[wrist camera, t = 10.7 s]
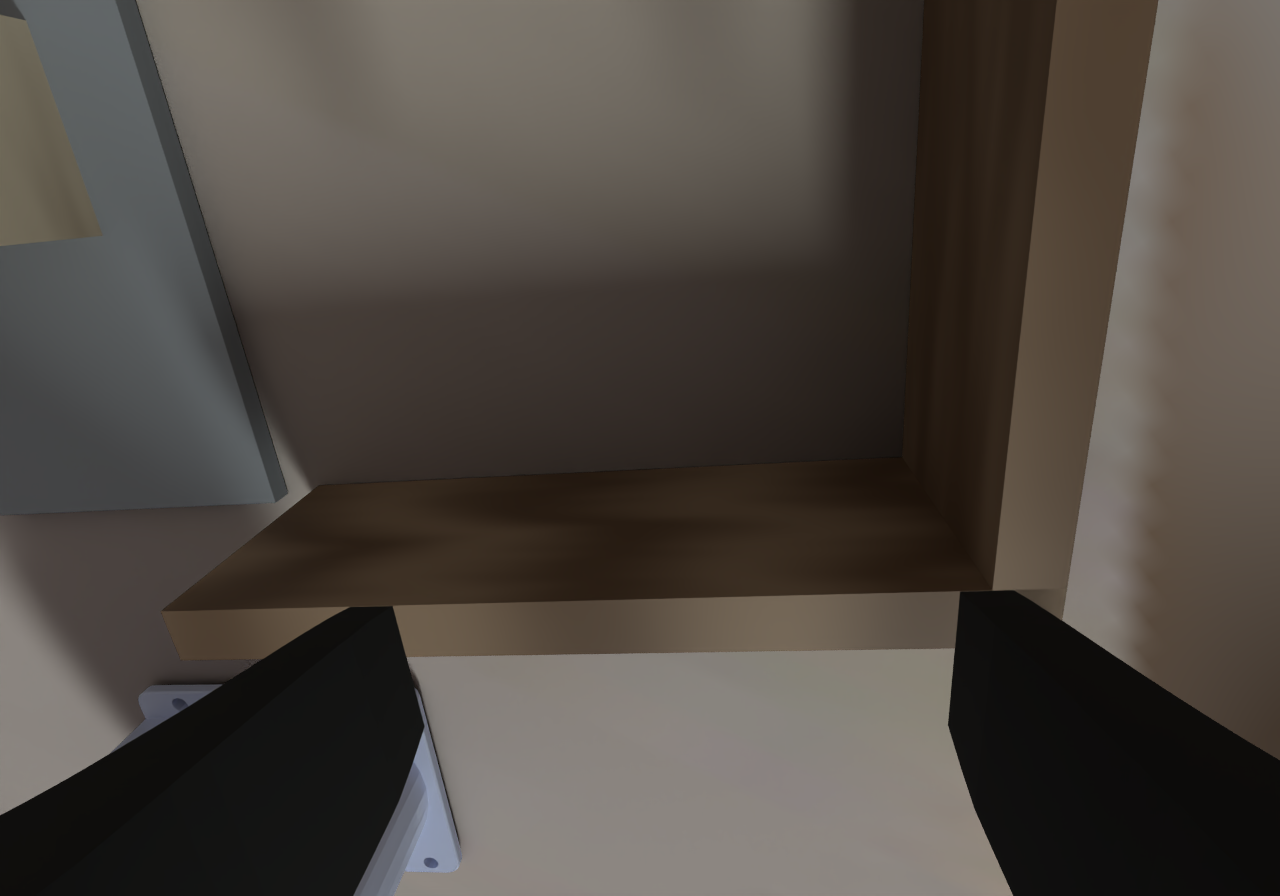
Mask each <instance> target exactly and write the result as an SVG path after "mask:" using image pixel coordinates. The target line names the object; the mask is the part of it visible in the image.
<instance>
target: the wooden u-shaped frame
mask: <svg viewBox="0 0 1280 896" xmlns="http://www.w3.org/2000/svg"><path fill="white" fill-rule="evenodd" d="M1157 5H1158V0H924V18H923V39H922V59H921V79H920V100H919V120H918V141H917V161H916V182H915V202H914V223H913V243H912V263H911V284H910V304H909V325H908V345H907V366H906V386H905V407H904V427H903V447H902V457H891V458H871V459H850V460H830V461H809V462H789V463H768V464H748V465H727V466H707V467H686V468H666V469H645V470H625V471H604V472H584V473H563V474H543V475H522V476H502V477H481V478H460V479H440V480H419V481H399V482H378V483H358V484H337V485H319V486H318V487H316V488H315V489H314V490H313V491H311V492H310V493H309V494H308V495H306V496H305V497H304V498H302V499H301V500H300V501H299V502H297V503H296V504H295V505H294V506H292V507H291V508H290V509H289V510H287V511H286V512H285V513H284V514H282V515H281V516H280V517H279V518H277V519H276V520H275V521H274V522H272V523H271V524H270V525H269V526H267V527H266V528H265V529H264V530H262V531H261V532H260V533H259V534H257V535H256V536H255V537H254V538H252V539H251V540H250V541H249V542H247V543H246V544H245V545H243V546H242V547H241V548H240V549H238V550H237V551H236V552H235V553H233V554H232V555H231V556H230V557H228V558H227V559H226V560H225V561H223V562H222V563H221V564H220V565H218V566H217V567H216V568H215V569H213V570H212V571H211V572H210V573H208V574H207V575H206V576H205V577H203V578H202V579H201V580H200V581H198V582H197V583H196V584H195V585H193V586H192V587H191V588H190V589H188V590H187V591H186V592H185V593H183V594H182V595H181V596H179V597H178V598H177V599H176V600H174V601H173V602H172V603H171V604H169V605H168V606H167V607H166V608H164V609H163V610H162V611H161V614H162V616H163V618H164V621H165V623H166V626H167V628H168V631H169V633H170V635H171V638H172V640H173V643H174V645H175V647H176V650H177V652H178V655H179V657H180V660H236V659H264V658H265V657H267V656H268V655H270V654H272V653H273V652H275V651H276V650H278V649H279V648H281V647H282V646H284V645H286V644H287V643H289V642H290V641H292V640H294V639H295V638H297V637H298V636H300V635H302V634H303V633H305V632H306V631H308V630H310V629H311V628H313V627H315V626H316V625H318V624H320V623H321V622H323V621H325V620H327V619H328V618H330V617H332V616H334V615H335V614H337V613H339V612H341V611H343V610H345V609H347V608H349V607H368V606H393V609H394V613H395V616H396V620H397V624H398V628H399V631H400V635H401V639H402V643H403V646H404V650H405V654H406V657H428V656H492V655H556V654H620V653H684V652H748V651H812V650H876V649H940V648H955V643H956V631H957V620H958V609H959V598H960V592H961V591H1001V590H1014V591H1016V592H1018V593H1020V594H1021V595H1023V596H1025V597H1026V598H1028V599H1030V600H1031V601H1033V602H1034V603H1036V604H1037V605H1039V606H1041V607H1042V608H1044V609H1045V610H1047V611H1048V612H1050V613H1051V614H1053V615H1054V616H1056V617H1057V618H1059V619H1060V620H1062V617H1063V611H1064V605H1065V598H1066V592H1067V585H1068V579H1069V572H1070V566H1071V559H1072V553H1073V547H1074V540H1075V534H1076V527H1077V521H1078V514H1079V508H1080V501H1081V495H1082V489H1083V482H1084V476H1085V469H1086V463H1087V456H1088V450H1089V443H1090V437H1091V431H1092V424H1093V418H1094V411H1095V405H1096V398H1097V392H1098V385H1099V379H1100V373H1101V366H1102V360H1103V353H1104V347H1105V340H1106V334H1107V328H1108V321H1109V315H1110V308H1111V302H1112V295H1113V289H1114V282H1115V276H1116V270H1117V263H1118V257H1119V250H1120V244H1121V237H1122V231H1123V224H1124V218H1125V212H1126V205H1127V199H1128V192H1129V186H1130V179H1131V173H1132V166H1133V160H1134V154H1135V147H1136V141H1137V134H1138V128H1139V121H1140V115H1141V108H1142V102H1143V96H1144V89H1145V83H1146V76H1147V70H1148V63H1149V57H1150V51H1151V44H1152V38H1153V31H1154V25H1155V18H1156V12H1157Z"/></svg>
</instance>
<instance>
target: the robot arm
mask: <svg viewBox="0 0 1280 896" xmlns="http://www.w3.org/2000/svg"><path fill="white" fill-rule="evenodd" d="M138 701H139V705H140V707H141V710H142V712H143V714H144V716H145V720H144V721H143V722H142V723H141V724H140V725H139V726H138V727H137V728H136V729H135V730H134V731H133V732H132V733H131V734H130V735H129V736H128V737H126V738H125V739H124V740H123V741H122V742H121V743H120V744H119V745H118V746H117V747H116V748H115V749H114V750H113V751H112V752H111V753H110V754H109V755H107V756H105V757H104V758H102V759H100V760H99V761H97V762H95V763H94V764H92V765H90V766H89V767H87V768H85V769H84V770H82V771H80V772H78V773H77V774H75V775H73V776H71V777H70V778H68V779H66V780H64V781H63V782H61V783H59V784H57V785H56V786H54V787H52V788H50V789H48V790H46V791H45V792H43V793H41V794H39V795H37V796H36V797H34V798H32V799H30V800H28V801H27V802H25V803H23V804H21V805H19V806H17V807H15V808H13V809H12V810H10V811H8V812H6V813H4V814H2V815H0V896H394V894H395V892H396V889H397V887H398V885H399V883H400V880H401V878H402V876H403V874H404V871H409V872H453V871H455V870H457V868H458V867H459V865H460V862H461V859H462V853H461V849H460V845H459V841H458V838H457V834H456V830H455V826H454V822H453V819H452V815H451V811H450V807H449V803H448V800H447V796H446V792H445V788H444V784H443V781H442V777H441V773H440V769H439V765H438V762H437V758H436V754H435V750H434V747H433V743H432V739H431V735H430V731H429V728H428V724H427V720H426V716H425V712H424V709H423V705H422V701H421V697H420V694H419V692H418V690H417V689H416V688H415V687H414V684H413V680H412V677H411V673H410V669H409V665H408V662H407V658H406V654H405V650H404V646H403V643H402V639H401V635H400V631H399V628H398V624H397V620H396V616H395V613H394V609H393V606H368V607H349V608H347V609H345V610H343V611H341V612H339V613H337V614H335V615H334V616H332V617H330V618H328V619H327V620H325V621H323V622H321V623H320V624H318V625H316V626H315V627H313V628H311V629H310V630H308V631H306V632H305V633H303V634H302V635H300V636H298V637H297V638H295V639H294V640H292V641H290V642H289V643H287V644H286V645H284V646H282V647H281V648H279V649H278V650H276V651H275V652H273V653H272V654H270V655H268V656H267V657H265V658H264V659H262V660H261V661H259V662H257V663H256V664H254V665H253V666H251V667H250V668H248V669H246V670H245V671H243V672H242V673H240V674H239V675H237V676H235V677H234V678H232V679H231V680H229V681H228V682H226V683H225V684H217V685H153V686H149V687H148V688H147V689H146V690H145V691H144V692H142V693H141V694H140V695H139V698H138ZM948 726H949V730H950V733H951V736H952V739H953V743H954V746H955V749H956V753H957V756H958V759H959V762H960V766H961V769H962V772H963V775H964V778H965V781H966V784H967V787H968V790H969V793H970V796H971V799H972V802H973V805H974V808H975V811H976V813H977V815H978V818H979V820H980V822H981V824H982V827H983V829H984V831H985V834H986V836H987V838H988V840H989V843H990V845H991V847H992V849H993V851H994V854H995V856H996V858H997V860H998V863H999V865H1000V867H1001V869H1002V872H1003V874H1004V876H1005V878H1006V881H1007V883H1008V885H1009V887H1010V889H1011V892H1012V894H1013V896H1280V760H1278V759H1277V758H1275V757H1273V756H1271V755H1270V754H1268V753H1266V752H1265V751H1263V750H1261V749H1260V748H1258V747H1256V746H1255V745H1253V744H1251V743H1250V742H1248V741H1246V740H1245V739H1243V738H1241V737H1240V736H1238V735H1237V734H1235V733H1233V732H1232V731H1230V730H1228V729H1227V728H1225V727H1224V726H1222V725H1220V724H1219V723H1217V722H1216V721H1214V720H1212V719H1211V718H1209V717H1208V716H1206V715H1204V714H1203V713H1201V712H1200V711H1198V710H1197V709H1195V708H1193V707H1192V706H1190V705H1189V704H1187V703H1186V702H1184V701H1182V700H1181V699H1179V698H1178V697H1176V696H1175V695H1173V694H1172V693H1170V692H1169V691H1167V690H1165V689H1164V688H1162V687H1161V686H1159V685H1158V684H1156V683H1155V682H1153V681H1152V680H1150V679H1149V678H1147V677H1145V676H1144V675H1142V674H1141V673H1139V672H1138V671H1136V670H1135V669H1133V668H1132V667H1130V666H1129V665H1127V664H1126V663H1124V662H1123V661H1121V660H1120V659H1118V658H1117V657H1115V656H1114V655H1112V654H1111V653H1109V652H1108V651H1106V650H1105V649H1103V648H1102V647H1100V646H1099V645H1097V644H1096V643H1095V642H1093V641H1092V640H1090V639H1089V638H1087V637H1086V636H1084V635H1083V634H1081V633H1080V632H1078V631H1077V630H1075V629H1074V628H1072V627H1071V626H1069V625H1068V624H1066V623H1065V622H1063V621H1062V620H1060V619H1059V618H1057V617H1056V616H1054V615H1053V614H1051V613H1050V612H1048V611H1047V610H1045V609H1044V608H1042V607H1041V606H1039V605H1037V604H1036V603H1034V602H1033V601H1031V600H1030V599H1028V598H1026V597H1025V596H1023V595H1021V594H1020V593H1018V592H1016V591H1014V590H1001V591H961V592H960V598H959V609H958V620H957V631H956V643H955V654H954V665H953V676H952V687H951V699H950V710H949V721H948Z"/></svg>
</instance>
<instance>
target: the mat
mask: <svg viewBox="0 0 1280 896" xmlns="http://www.w3.org/2000/svg"><path fill="white" fill-rule="evenodd" d="M0 15H4V16H8V17H12V18H17V19H21V20H26V22H27V24H28V27H29V30H30V33H31V36H32V38H33V41H34V44H35V47H36V50H37V53H38V55H39V58H40V61H41V64H42V67H43V69H44V72H45V75H46V78H47V81H48V83H49V86H50V89H51V92H52V95H53V97H54V100H55V103H56V106H57V109H58V111H59V114H60V117H61V120H62V123H63V125H64V128H65V131H66V134H67V137H68V139H69V142H70V145H71V148H72V151H73V153H74V156H75V159H76V162H77V165H78V167H79V170H80V173H81V176H82V179H83V181H84V184H85V187H86V190H87V193H88V195H89V198H90V201H91V204H92V207H93V209H94V212H95V215H96V218H97V221H98V223H99V226H100V229H101V232H102V235H103V236H95V237H85V238H76V239H66V240H56V241H46V242H36V243H27V244H17V245H7V246H0V515H19V514H41V513H63V512H85V511H107V510H129V509H150V508H172V507H194V506H216V505H238V504H260V503H276V502H277V501H279V500H280V499H281V498H282V497H284V496H285V495H286V494H288V492H287V489H286V486H285V482H284V479H283V476H282V473H281V469H280V466H279V463H278V460H277V457H276V453H275V450H274V447H273V444H272V440H271V437H270V434H269V431H268V428H267V424H266V421H265V418H264V415H263V411H262V408H261V405H260V402H259V398H258V395H257V392H256V389H255V386H254V382H253V379H252V376H251V373H250V369H249V366H248V363H247V360H246V356H245V353H244V350H243V347H242V344H241V340H240V337H239V334H238V331H237V327H236V324H235V321H234V318H233V315H232V311H231V308H230V305H229V302H228V298H227V295H226V292H225V289H224V285H223V282H222V279H221V276H220V273H219V269H218V266H217V263H216V260H215V256H214V253H213V250H212V247H211V244H210V240H209V237H208V234H207V231H206V227H205V224H204V221H203V218H202V214H201V211H200V208H199V205H198V202H197V198H196V195H195V192H194V189H193V185H192V182H191V179H190V176H189V173H188V169H187V166H186V163H185V160H184V156H183V153H182V150H181V147H180V143H179V140H178V137H177V134H176V131H175V127H174V124H173V121H172V118H171V114H170V111H169V108H168V105H167V101H166V98H165V95H164V92H163V89H162V85H161V82H160V79H159V76H158V72H157V69H156V66H155V63H154V60H153V56H152V53H151V50H150V47H149V43H148V40H147V37H146V34H145V30H144V27H143V24H142V21H141V18H140V14H139V11H138V8H137V5H136V1H135V0H0Z"/></svg>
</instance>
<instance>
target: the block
mask: <svg viewBox="0 0 1280 896" xmlns="http://www.w3.org/2000/svg"><path fill="white" fill-rule="evenodd" d="M95 236H103V235H102V232H101V229H100V226H99V223H98V221H97V218H96V215H95V212H94V209H93V207H92V204H91V201H90V198H89V195H88V193H87V190H86V187H85V184H84V181H83V179H82V176H81V173H80V170H79V167H78V165H77V162H76V159H75V156H74V153H73V151H72V148H71V145H70V142H69V139H68V137H67V134H66V131H65V128H64V125H63V123H62V120H61V117H60V114H59V111H58V109H57V106H56V103H55V100H54V97H53V95H52V92H51V89H50V86H49V83H48V81H47V78H46V75H45V72H44V69H43V67H42V64H41V61H40V58H39V55H38V53H37V50H36V47H35V44H34V41H33V38H32V36H31V33H30V30H29V27H28V24H27V22H26V20H21V19H17V18H12V17H8V16H4V15H0V246H7V245H17V244H27V243H36V242H46V241H56V240H66V239H76V238H85V237H95Z"/></svg>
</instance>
